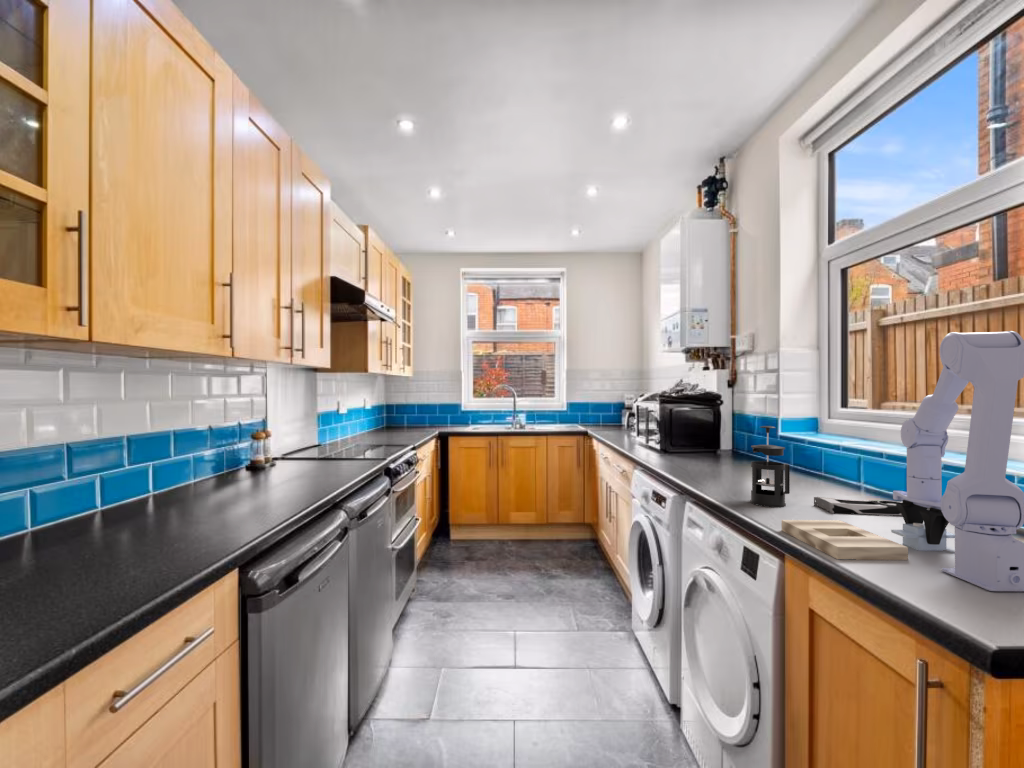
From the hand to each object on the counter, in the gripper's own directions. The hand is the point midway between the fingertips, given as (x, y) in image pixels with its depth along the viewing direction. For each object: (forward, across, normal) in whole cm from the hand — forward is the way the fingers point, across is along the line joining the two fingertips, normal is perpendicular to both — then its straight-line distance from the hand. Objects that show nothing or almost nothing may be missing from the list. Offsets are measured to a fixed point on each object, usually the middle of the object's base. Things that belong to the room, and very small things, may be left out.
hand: (924, 540), depth 104 cm
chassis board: (+1, +2, +17) cm, 17 cm away
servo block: (+1, 0, 0) cm, 1 cm away
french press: (+2, +40, +12) cm, 42 cm away
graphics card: (+2, +31, -11) cm, 33 cm away
